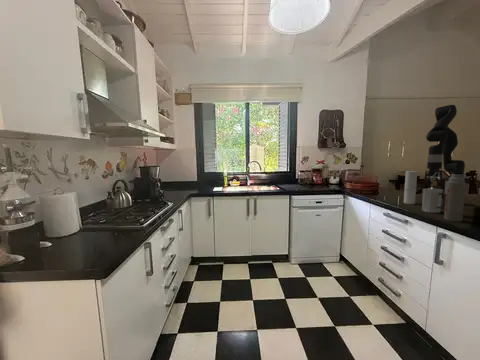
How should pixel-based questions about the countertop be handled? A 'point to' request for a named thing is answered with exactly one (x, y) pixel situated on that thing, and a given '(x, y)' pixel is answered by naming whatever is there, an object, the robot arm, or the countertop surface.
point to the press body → (433, 200)
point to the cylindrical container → (410, 187)
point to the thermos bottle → (455, 197)
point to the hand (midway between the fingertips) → (432, 185)
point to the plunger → (433, 184)
